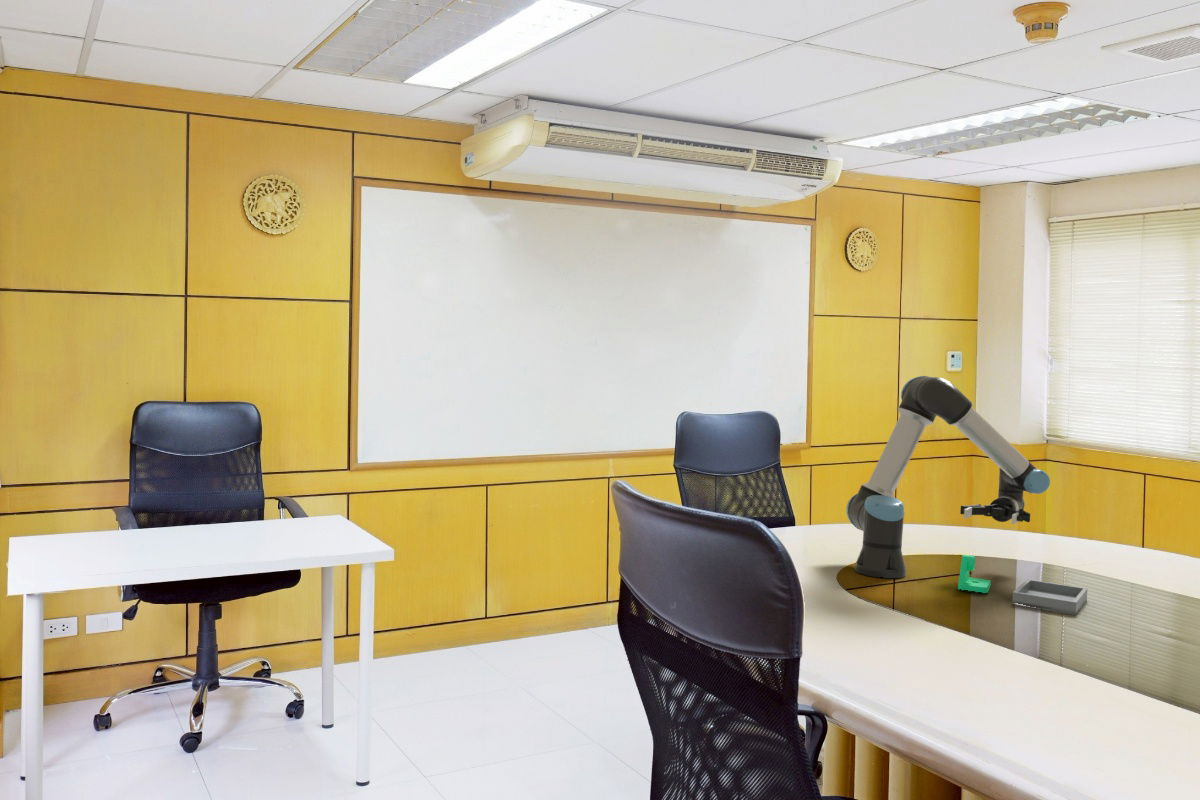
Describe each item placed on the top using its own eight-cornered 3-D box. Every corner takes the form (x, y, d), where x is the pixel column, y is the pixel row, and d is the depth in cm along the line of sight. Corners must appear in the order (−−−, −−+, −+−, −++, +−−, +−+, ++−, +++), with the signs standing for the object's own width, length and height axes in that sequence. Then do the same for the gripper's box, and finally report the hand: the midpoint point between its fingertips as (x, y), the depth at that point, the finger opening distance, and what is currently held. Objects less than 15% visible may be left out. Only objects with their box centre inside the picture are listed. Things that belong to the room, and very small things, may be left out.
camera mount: (985, 596, 284) (988, 561, 283) (957, 592, 287) (960, 557, 287) (990, 589, 295) (993, 554, 294) (963, 585, 298) (965, 551, 298)
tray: (1012, 604, 275) (1012, 592, 275) (1027, 590, 293) (1027, 579, 293) (1075, 615, 266) (1076, 602, 266) (1086, 600, 285) (1087, 588, 285)
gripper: (1045, 525, 309) (1032, 534, 291) (962, 515, 323) (945, 523, 305) (1046, 501, 309) (1034, 509, 291) (963, 492, 322) (947, 499, 305)
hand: (989, 516), depth 298 cm, fingers open, 13 cm apart
